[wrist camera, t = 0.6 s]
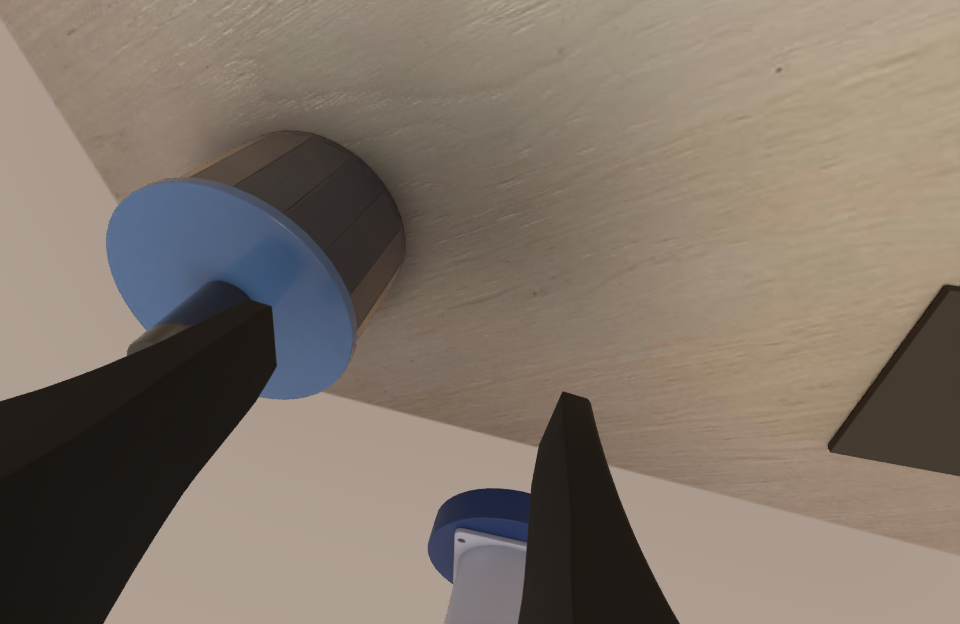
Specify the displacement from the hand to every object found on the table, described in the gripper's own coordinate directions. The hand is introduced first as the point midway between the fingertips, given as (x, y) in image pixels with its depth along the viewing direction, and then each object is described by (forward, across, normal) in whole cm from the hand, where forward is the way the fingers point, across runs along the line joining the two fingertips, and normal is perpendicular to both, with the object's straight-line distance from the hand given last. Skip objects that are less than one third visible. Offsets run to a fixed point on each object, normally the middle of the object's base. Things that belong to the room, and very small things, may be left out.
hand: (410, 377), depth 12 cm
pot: (+12, +8, +4) cm, 15 cm away
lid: (+5, +8, +4) cm, 11 cm away
